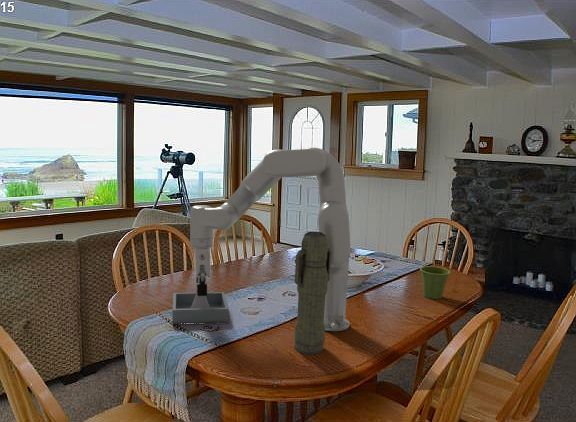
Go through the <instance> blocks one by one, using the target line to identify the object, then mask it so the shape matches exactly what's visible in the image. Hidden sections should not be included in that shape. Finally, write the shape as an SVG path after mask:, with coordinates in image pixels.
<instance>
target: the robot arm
mask: <svg viewBox="0 0 576 422" xmlns="http://www.w3.org/2000/svg"><path fill="white" fill-rule="evenodd" d="M298 177H299V178H301V177H306V178H307V177H316V179H317V182H318V183H317V184H318V185H317V186H318V196H319V211H318V215H317V222H318V223H317V224H318V225H317V226H318V232H322V233H323V234H325V235H326V238H327V242H328V248H330V250H331V268H330V279H329V281H328V285H327V293H326V295H325V308H324V326H325V332H327V331H328V332H341V331H344V330H347V329H349V327H350V321H349V320H348V319H346V310H347V309H346V308H347V297H348V281H349V269H350V268H349V267H350V257H351V252H352V251H351V235H350V234H351V233H350V219H349V218H350V216H349V211H348V207H347V199H346V197H347V196H346V194H347V193H346V187H345V186H346V185H345V178H344V177H345V176H344V173H343V169H342V166H341V165H340V163H339V161H338V160H337V159H336V157H335V156H334V155H332V154H331V153H330V152H328V151H326V150H324V149H323V148H319V147H309V148H302V149H299V148H298V149H279V148H276V149H272V150H270V151H268V152H267V153H266V154H265V155H264V157H263V159H262V160H261V161H259V163H257V165H256V166H255V167H254V168H253V169H252V170H251V171H249V173H248V174H247V175H246V176H245V177H244V178H243V179H242V181H241V182H240V185H239V187H237V189H236V190H235V191H234V193H233V194H232V195H231V196H229V198H228V199H227V200H226V201H225V202H224V203H222V204H221V205H220V206H218V207H212V206H211V205H203V204H202V205H201V204H200V205H199V204H198V205H196V204H195V205H193V206H191V208H190V210H189V212H190V213H189V214H190V216H189V227H190V229H189V230H190V231H189V232H190V233H189V235H190V237H189V240H190V244H189V247H190V248H192V249H193V262H194V273H195V277H196V280H195V281H196V283H198V284H197V286H196V285H195V286H196V292H197V296H207V292H208V283H207V277H208V278H210V277H211V248H213V247H214V229H215V230H219V231H224V230H228V229H229V228H231V227H232V226H233V225H234V224H235V223H237V221H238V220H239V219H240V218H241V217H242V216H243V215H244V214H246V212H248V210H249V209H251V207H252V206H253V205H254V204H255V203H257V202H258V201H260V200H261V199H262V198H263V197H264V196H265V195H266V194H267V193H268V192H269V191H270V190H271V189H272V188H273V187H274V186H275V185H276V184H277V183H278V182H279V181H280V180H281V179H282V178H298ZM196 283H195V284H196Z"/></svg>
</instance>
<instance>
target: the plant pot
mask: <svg viewBox="0 0 576 422" xmlns="http://www.w3.org/2000/svg"><path fill="white" fill-rule="evenodd" d="M419 270H420V272H421V277H422V281H421V282H422V292H423V297H425V298H427V299H433V300H440V299H442V297H443V294H444V290H445V288H446V287H445V286H446V284H447V280H448V278H449V275H450V274H451V271H450V270H449V269H447V268H444V267H440V266H432V265H430V266H429V265H428V266H425V265H424V266H421V267H419Z"/></svg>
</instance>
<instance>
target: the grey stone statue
mask: <svg viewBox="0 0 576 422" xmlns="http://www.w3.org/2000/svg"><path fill="white" fill-rule="evenodd" d="M330 268H331V250H330V248H328V242H327V238H326V235H325V234H323V233H322V232H319V231H307V232H305V233H304V235H303V238H302V241H301V248H300V249H299V250H297V253H296V255H295V267H294V269H295V271H294V283H295V284H296V285H297V286H296V287H297V288H296V290H297V293H298V296H297V297H298V298H297V313H296V315H297V316H296V323H295V325H294V335H293V336H294V346H293V347H294V350H295V351H297V352H299V353H301V354H303V355H304V354H305V355H317V354H319V353H322V352H323V351H324V343H325V339H326V338H325V337H326V334H325V333H326V331H325V326H324V308H325V295H326V293H327V285H328V281H329V279H330Z"/></svg>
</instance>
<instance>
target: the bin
mask: <svg viewBox="0 0 576 422" xmlns="http://www.w3.org/2000/svg"><path fill="white" fill-rule="evenodd" d="M172 295H173V296H172V317H171V318H172V324H181V323H182V324H184V323H185V324H186V323H194V324H193V325H200V324H199V323H205V324H204V325H212V324H211V323H226V324H229V310H230V309H229V305H228V300H227V297H226V295H225V292H224V291H222V292H221V291H220V292H216V291H215V292H209V291H207V296H206V298H207V301H208V304H209V307H210V308H201V309H191V307H192V304H193V301H194V299H195V296H196V292H173V293H172ZM195 323H196V324H195ZM197 323H198V324H197ZM206 323H208V324H206ZM209 323H210V324H209ZM172 324H171V325H172Z"/></svg>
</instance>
